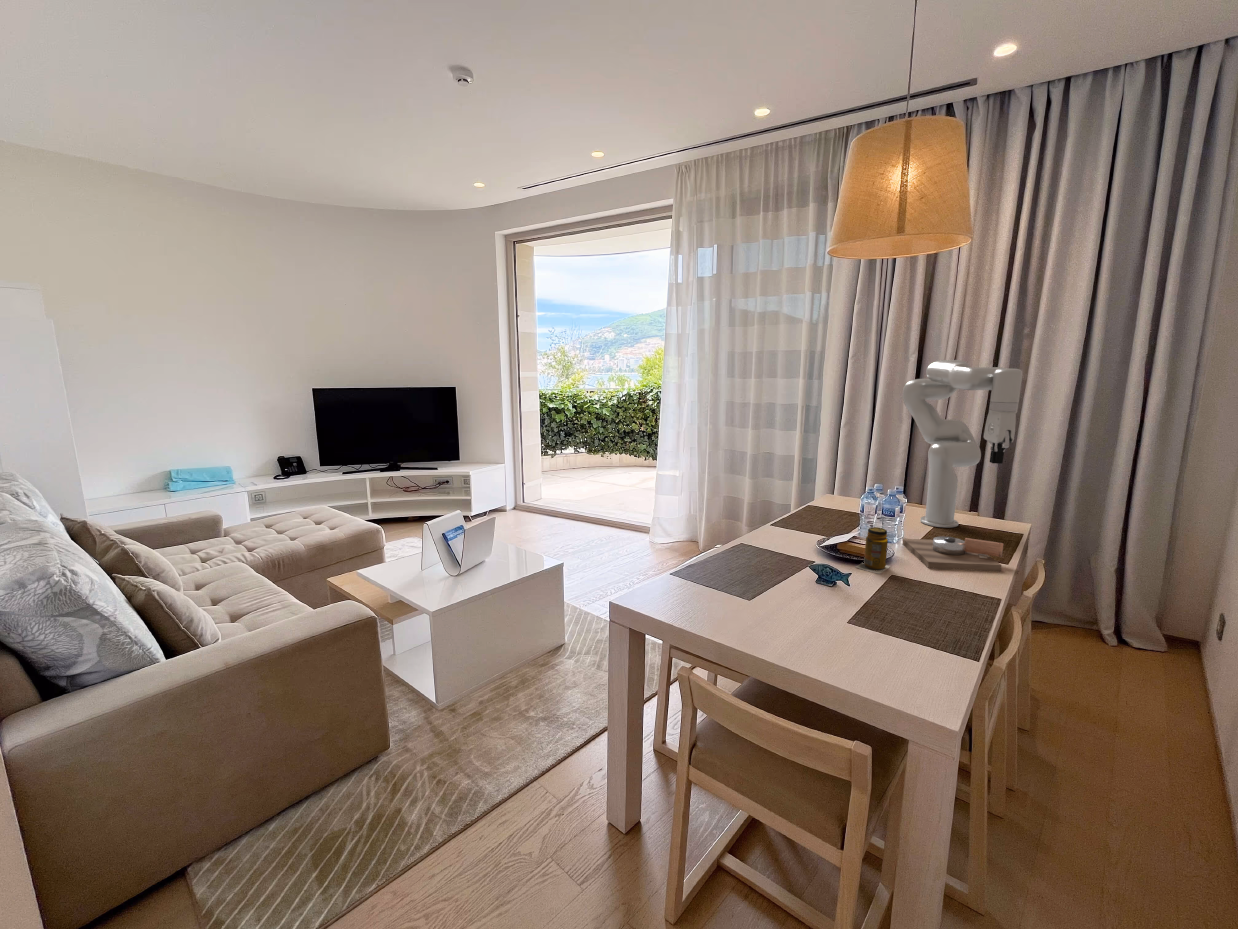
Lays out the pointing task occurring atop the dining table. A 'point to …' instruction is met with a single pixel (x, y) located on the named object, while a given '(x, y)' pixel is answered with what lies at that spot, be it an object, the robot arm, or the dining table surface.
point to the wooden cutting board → (949, 557)
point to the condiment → (875, 551)
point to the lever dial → (967, 546)
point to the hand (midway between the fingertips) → (995, 462)
